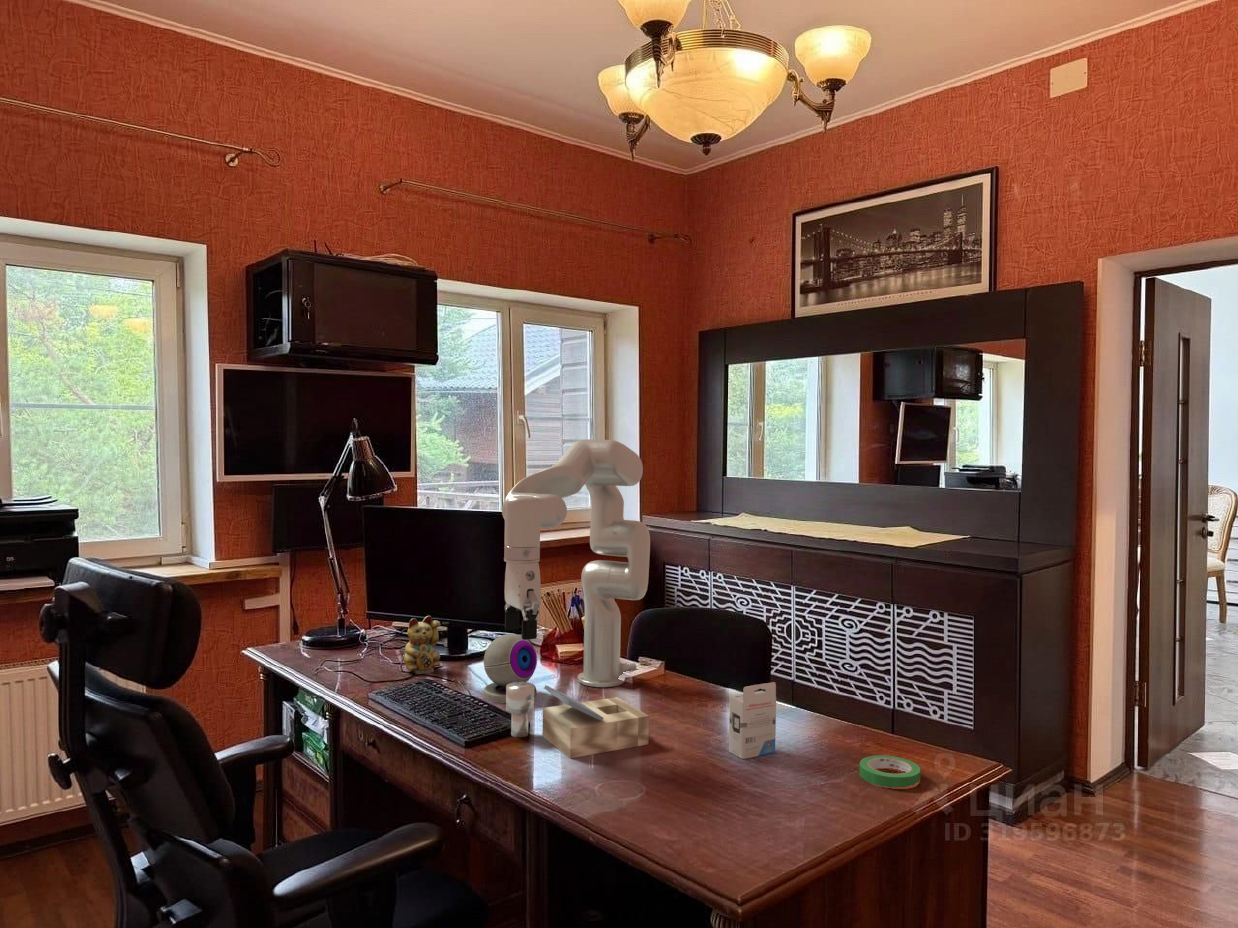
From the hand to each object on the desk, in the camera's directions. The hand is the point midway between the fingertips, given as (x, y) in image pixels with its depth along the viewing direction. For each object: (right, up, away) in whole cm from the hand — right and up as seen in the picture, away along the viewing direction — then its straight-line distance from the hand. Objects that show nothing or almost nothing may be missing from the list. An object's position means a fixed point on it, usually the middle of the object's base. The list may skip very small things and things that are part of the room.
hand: (520, 634), depth 182 cm
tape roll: (+73, -24, -19) cm, 79 cm away
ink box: (+48, -23, -7) cm, 54 cm away
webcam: (-6, -21, +28) cm, 36 cm away
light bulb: (0, -22, +1) cm, 22 cm away
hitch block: (+16, -22, -2) cm, 27 cm away
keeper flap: (+11, -14, -5) cm, 18 cm away
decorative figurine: (-32, -20, +48) cm, 61 cm away
